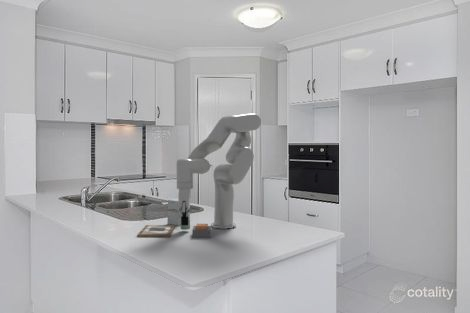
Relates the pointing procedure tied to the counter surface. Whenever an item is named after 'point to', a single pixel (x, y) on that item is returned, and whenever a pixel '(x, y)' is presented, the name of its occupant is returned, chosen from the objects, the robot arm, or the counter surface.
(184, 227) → the cylinder
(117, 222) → the counter surface
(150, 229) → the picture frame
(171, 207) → the supplement box
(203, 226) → the button
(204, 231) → the button housing
